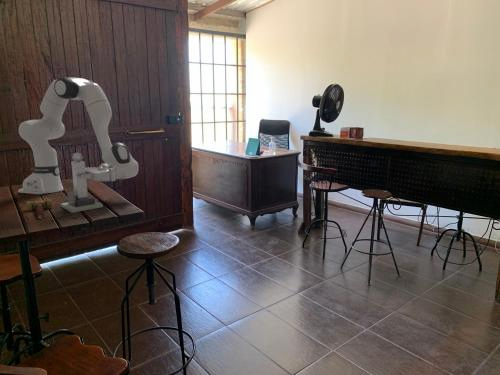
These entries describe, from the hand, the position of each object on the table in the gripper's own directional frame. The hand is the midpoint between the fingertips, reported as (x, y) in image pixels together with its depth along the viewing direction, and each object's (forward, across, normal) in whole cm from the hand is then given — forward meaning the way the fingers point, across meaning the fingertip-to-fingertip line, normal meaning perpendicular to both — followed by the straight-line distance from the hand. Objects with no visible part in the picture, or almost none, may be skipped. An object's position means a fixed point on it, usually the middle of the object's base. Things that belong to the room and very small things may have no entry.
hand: (77, 175), depth 177 cm
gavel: (+17, -1, +16) cm, 23 cm away
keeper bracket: (-1, 0, +15) cm, 15 cm away
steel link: (-1, 0, +14) cm, 14 cm away
